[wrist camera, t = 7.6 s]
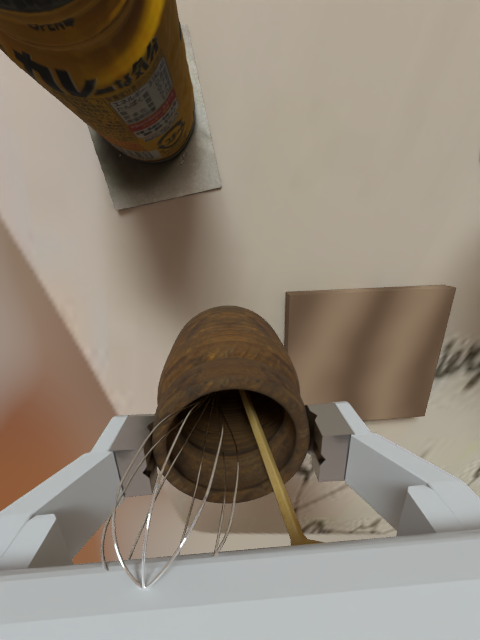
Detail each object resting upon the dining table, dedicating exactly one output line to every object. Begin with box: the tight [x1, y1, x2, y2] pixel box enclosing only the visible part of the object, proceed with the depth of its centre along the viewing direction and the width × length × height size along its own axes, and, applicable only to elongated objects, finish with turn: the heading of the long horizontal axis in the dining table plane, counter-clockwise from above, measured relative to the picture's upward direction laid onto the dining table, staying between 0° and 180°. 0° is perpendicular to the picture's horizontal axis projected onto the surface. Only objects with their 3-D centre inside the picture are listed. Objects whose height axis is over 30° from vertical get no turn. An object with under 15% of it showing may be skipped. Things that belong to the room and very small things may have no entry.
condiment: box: [0, 0, 221, 210], centre depth 10 cm, size 7×8×12 cm
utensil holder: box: [101, 306, 324, 589], centre depth 9 cm, size 6×6×12 cm
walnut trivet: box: [284, 285, 456, 421], centre depth 21 cm, size 13×12×1 cm
